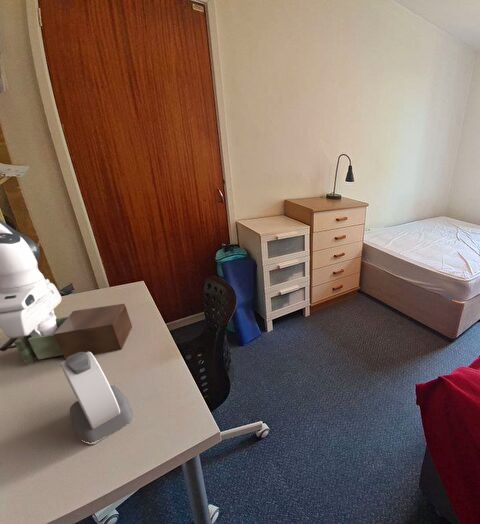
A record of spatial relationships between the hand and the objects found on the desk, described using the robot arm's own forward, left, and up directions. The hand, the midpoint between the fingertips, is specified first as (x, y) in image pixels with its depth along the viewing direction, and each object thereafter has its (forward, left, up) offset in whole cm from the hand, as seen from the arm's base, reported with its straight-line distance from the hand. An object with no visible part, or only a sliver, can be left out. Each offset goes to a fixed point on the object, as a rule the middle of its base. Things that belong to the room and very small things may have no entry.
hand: (45, 331), depth 84 cm
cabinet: (+12, 0, -7) cm, 14 cm away
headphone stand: (+22, -33, -8) cm, 40 cm away
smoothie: (0, 0, -6) cm, 6 cm away
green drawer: (0, 0, -6) cm, 6 cm away
